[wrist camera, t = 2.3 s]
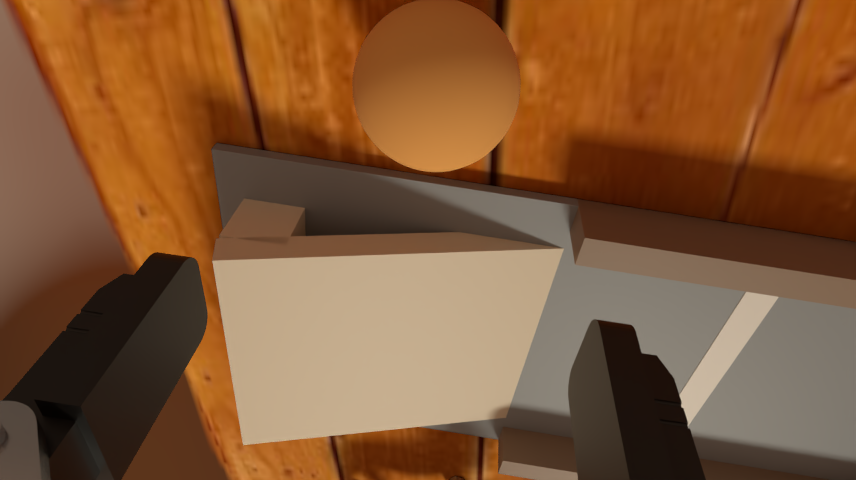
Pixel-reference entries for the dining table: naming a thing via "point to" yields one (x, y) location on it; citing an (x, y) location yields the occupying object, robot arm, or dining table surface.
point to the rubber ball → (436, 85)
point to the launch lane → (522, 315)
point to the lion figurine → (456, 478)
